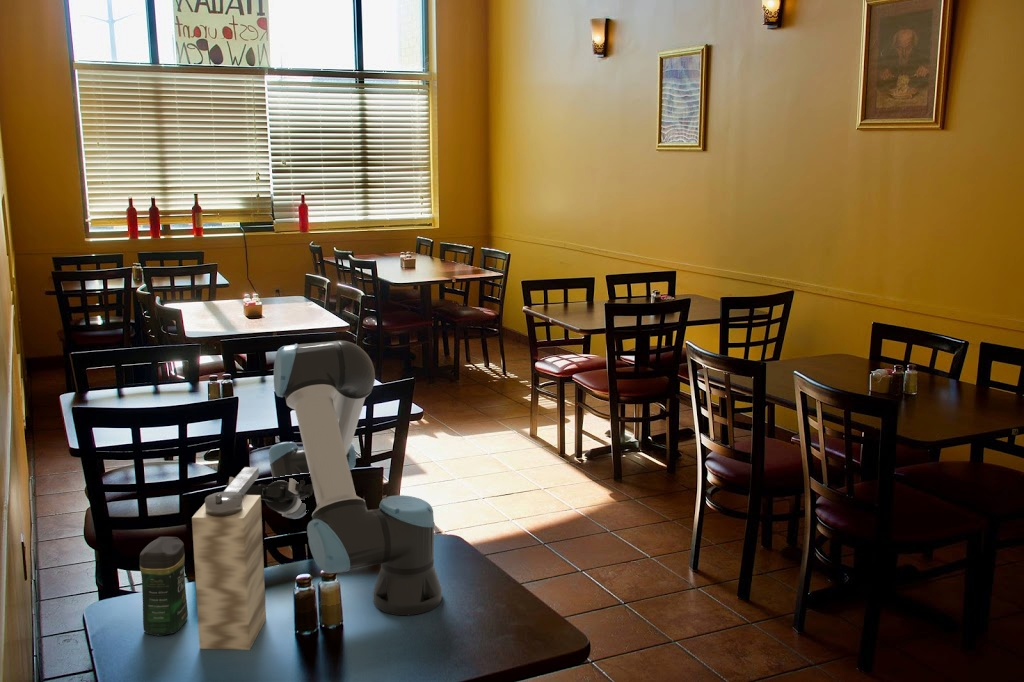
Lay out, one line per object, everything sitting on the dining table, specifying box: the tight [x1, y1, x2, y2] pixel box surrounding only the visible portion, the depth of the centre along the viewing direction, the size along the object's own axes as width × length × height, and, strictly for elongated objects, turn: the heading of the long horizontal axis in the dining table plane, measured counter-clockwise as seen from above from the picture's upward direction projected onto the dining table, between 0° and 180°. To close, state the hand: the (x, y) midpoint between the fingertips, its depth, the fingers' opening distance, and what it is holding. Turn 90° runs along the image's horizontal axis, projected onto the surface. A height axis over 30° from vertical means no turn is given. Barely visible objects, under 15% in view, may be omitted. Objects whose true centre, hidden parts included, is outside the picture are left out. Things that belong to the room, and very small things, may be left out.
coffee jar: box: [139, 536, 189, 637], centre depth 188 cm, size 10×8×19 cm
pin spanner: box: [204, 466, 260, 517], centre depth 187 cm, size 22×7×4 cm, turn 0°
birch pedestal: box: [191, 495, 267, 651], centre depth 184 cm, size 10×12×28 cm
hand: (260, 483), depth 205 cm, fingers open, 13 cm apart
